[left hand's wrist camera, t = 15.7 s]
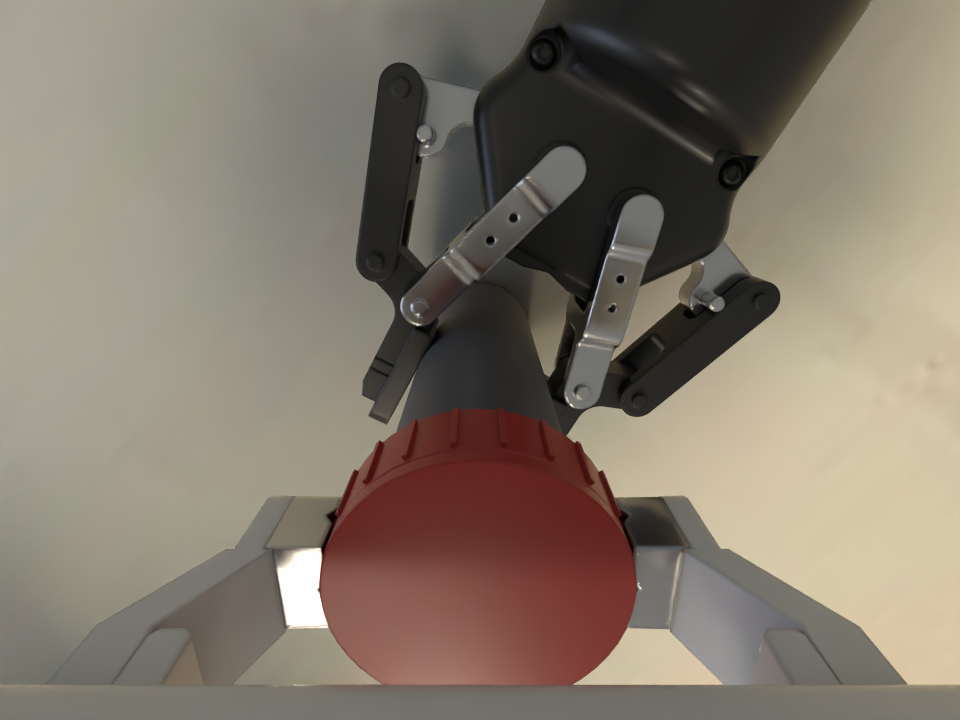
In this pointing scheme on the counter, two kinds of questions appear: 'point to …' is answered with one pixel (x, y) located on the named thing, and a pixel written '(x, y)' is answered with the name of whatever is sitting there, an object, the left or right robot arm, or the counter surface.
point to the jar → (481, 361)
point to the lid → (478, 556)
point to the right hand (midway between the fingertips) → (443, 438)
